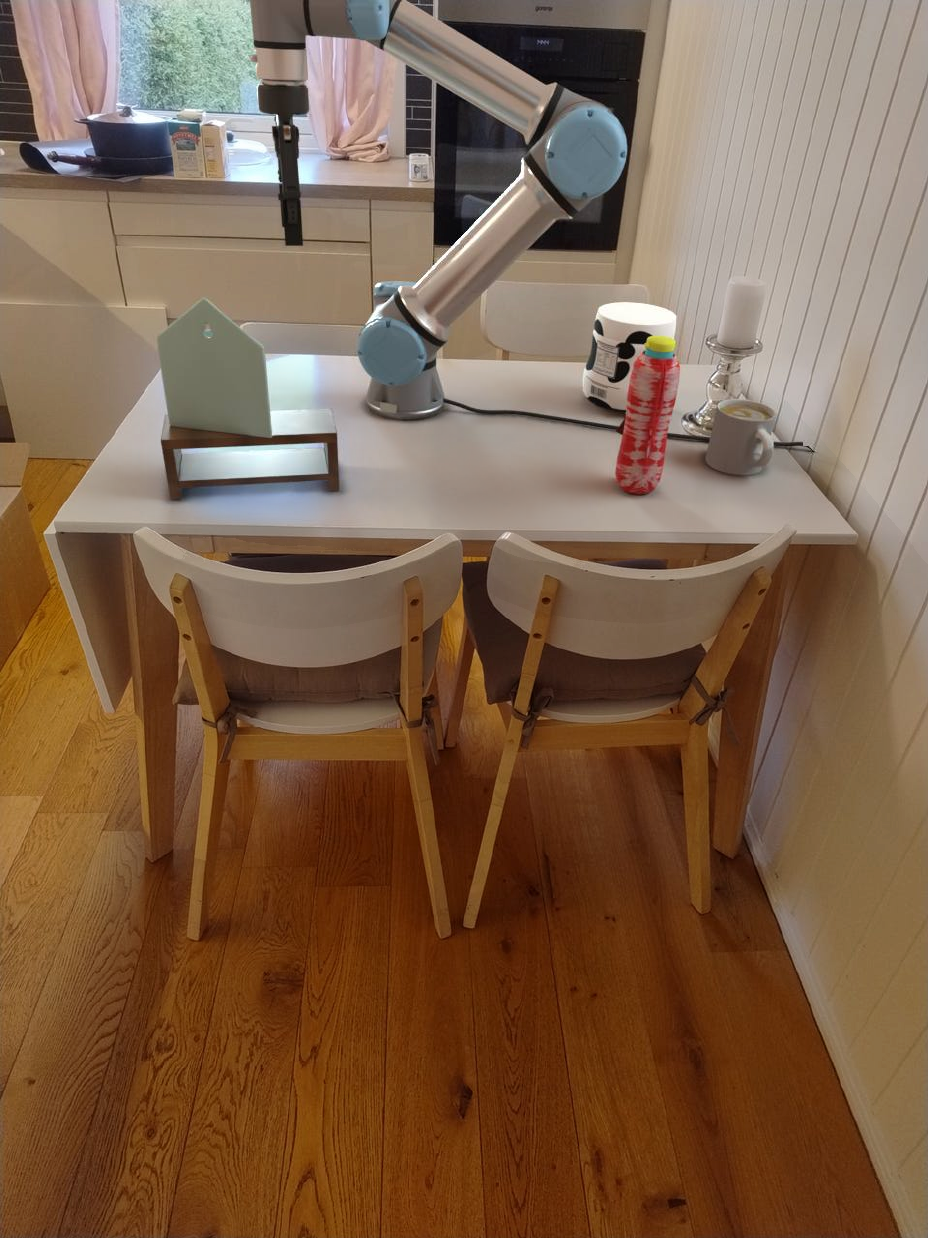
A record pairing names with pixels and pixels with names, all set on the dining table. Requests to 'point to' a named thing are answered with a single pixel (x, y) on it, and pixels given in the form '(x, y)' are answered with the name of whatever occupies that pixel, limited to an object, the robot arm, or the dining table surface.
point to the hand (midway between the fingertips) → (292, 235)
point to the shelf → (254, 454)
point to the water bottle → (647, 416)
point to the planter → (214, 374)
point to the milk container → (621, 349)
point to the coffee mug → (741, 437)
